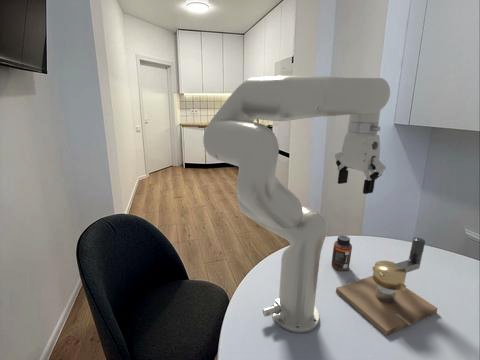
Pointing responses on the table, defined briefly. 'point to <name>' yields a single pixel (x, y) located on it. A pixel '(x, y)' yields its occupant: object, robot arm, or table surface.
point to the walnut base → (385, 305)
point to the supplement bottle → (341, 253)
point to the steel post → (385, 294)
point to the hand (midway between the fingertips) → (354, 187)
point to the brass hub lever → (398, 268)
